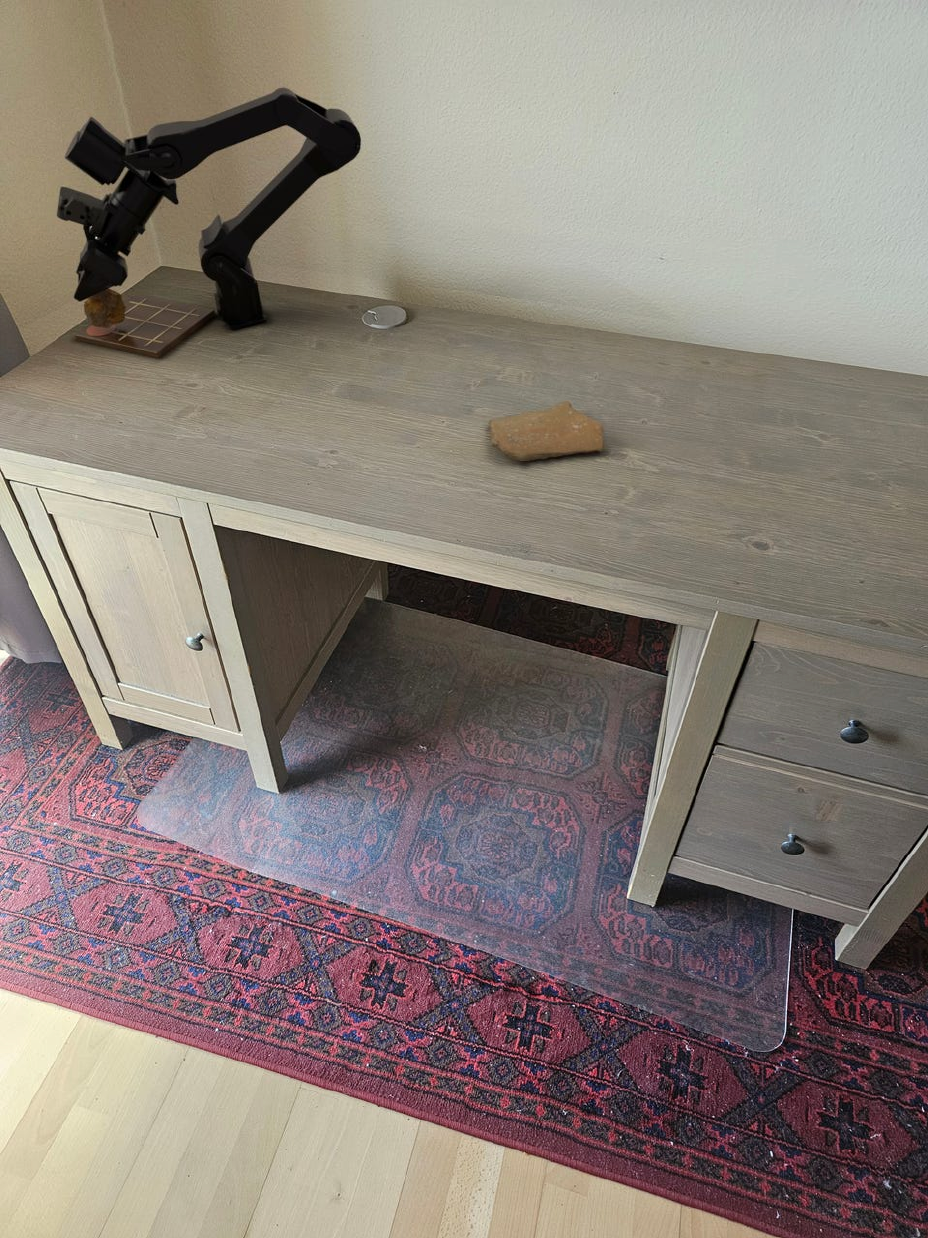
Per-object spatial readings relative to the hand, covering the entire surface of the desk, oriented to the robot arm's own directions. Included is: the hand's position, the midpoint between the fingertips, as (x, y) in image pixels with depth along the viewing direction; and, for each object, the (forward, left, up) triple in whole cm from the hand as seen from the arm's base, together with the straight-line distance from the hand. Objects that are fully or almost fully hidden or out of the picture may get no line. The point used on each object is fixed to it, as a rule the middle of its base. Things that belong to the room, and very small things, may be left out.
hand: (77, 286), depth 130 cm
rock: (-1, +1, -7) cm, 7 cm away
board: (-8, +1, -8) cm, 12 cm away
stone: (-48, +61, -8) cm, 78 cm away
